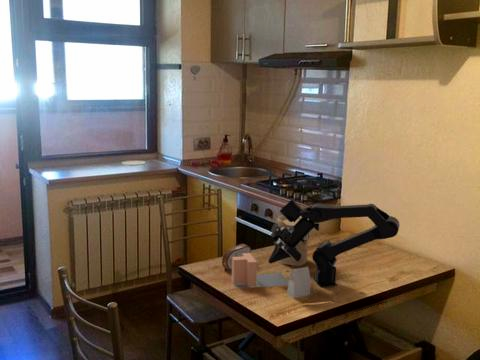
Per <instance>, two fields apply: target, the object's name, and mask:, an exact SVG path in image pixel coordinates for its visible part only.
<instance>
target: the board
mask: <svg viewBox="0 0 480 360" xmlns="http://www.w3.org/2000/svg"><path fill="white" fill-rule="evenodd" d="M229 279H230V281H231V283H232V284H233V282H232V276H229ZM233 286H234V287H235V290H242V289H255V288H267V287H269V288H271V287H279V286H280V287H281V286H288V279H286V277H285V276H284V275H283V273H281V272H279V273H278V272H277V273H263V274H257V276H256V286H250V287H248V286H247V284H246V283H242V284H233Z"/></svg>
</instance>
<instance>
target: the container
mask: <svg viewBox="0 0 480 360" xmlns="http://www.w3.org/2000/svg"><path fill="white" fill-rule="evenodd" d="M301 218H302V217H301V216H300V217H299V218H298V219H297V220H296V221H295V222H289V221H288V220H287V219H286V218H285V217H284V216H283V215H282V214H281V215H279V216H278V217H277V219H276V220H277V225H279V226H281V227H285V228H288V227H291V228H292V227H293V226H294V225H295V224H296V223H297V222H298V221H299V220H300V219H301ZM308 220H309V219H308ZM309 234H310V233H309ZM309 234H308V235H307V236H306V237H305V238H304V240H305V241H304V242H302V241H301V242H300V243H299V244H298V245H297V246H296V248H297V249H296V250H297V251H298V252H299V253H300V254H301V259H300V260H299V261H298V262H297V261H296V260H295V259H294V258H293V257H292V256H291V255H290V256H291V257H288V258H285V259H282V260H279V261H276V263H278V264H281V265H287V266H289V265H290V266H291V267H298V266H299V267H303V265H305V264H306V263H307V262H308V247H309Z"/></svg>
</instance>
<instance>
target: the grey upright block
mask: <svg viewBox="0 0 480 360" xmlns="http://www.w3.org/2000/svg"><path fill="white" fill-rule="evenodd" d="M309 268H310V267H309V266H306V267H304V266H303V267H300V268H299V267H298V268H294V269H291V271H290V273H289V276H288V279H287V281H288V285H287V291H286V292H287V293H286V294H287V295H288V296H290V297H291V298H292V299H297V298H301V297H306V296H310V295H311V285H312V284H311V281H312V278H311V276H310V269H309Z"/></svg>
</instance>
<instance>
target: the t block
mask: <svg viewBox="0 0 480 360" xmlns="http://www.w3.org/2000/svg"><path fill="white" fill-rule="evenodd" d="M257 269H258V261H257V260H256V258H255V257H254V256H253V254H252V252H251V253H242V257H232V269H231V277H232V281H231V283H232V282H233V283H232V284H233V285H234V284H242V283H246V284H247V286H248V287H250V286H256V276H257V275H258V274H257V273H258V270H257Z"/></svg>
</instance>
